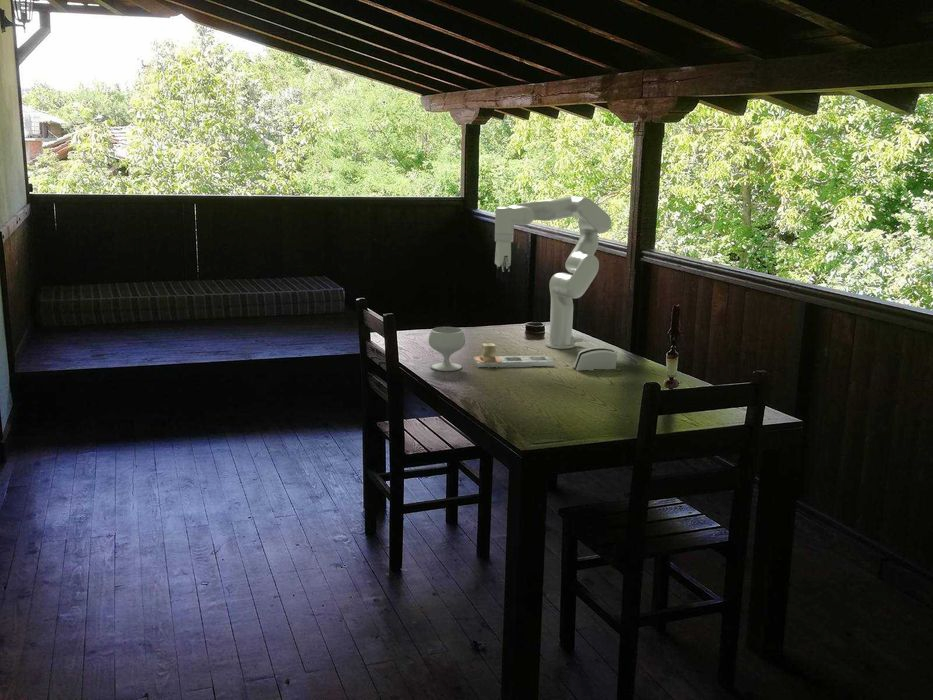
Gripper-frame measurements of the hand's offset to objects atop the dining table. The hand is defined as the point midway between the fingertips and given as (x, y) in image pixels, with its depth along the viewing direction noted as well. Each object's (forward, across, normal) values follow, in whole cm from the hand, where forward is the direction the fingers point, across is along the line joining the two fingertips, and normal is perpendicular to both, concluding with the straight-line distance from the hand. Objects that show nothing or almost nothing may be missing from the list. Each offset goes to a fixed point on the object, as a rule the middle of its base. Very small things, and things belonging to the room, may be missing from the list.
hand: (502, 280), depth 357 cm
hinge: (+31, +31, +31) cm, 53 cm away
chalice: (+31, +24, -26) cm, 47 cm away
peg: (+30, +20, -9) cm, 37 cm away
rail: (+30, +20, +1) cm, 36 cm away
